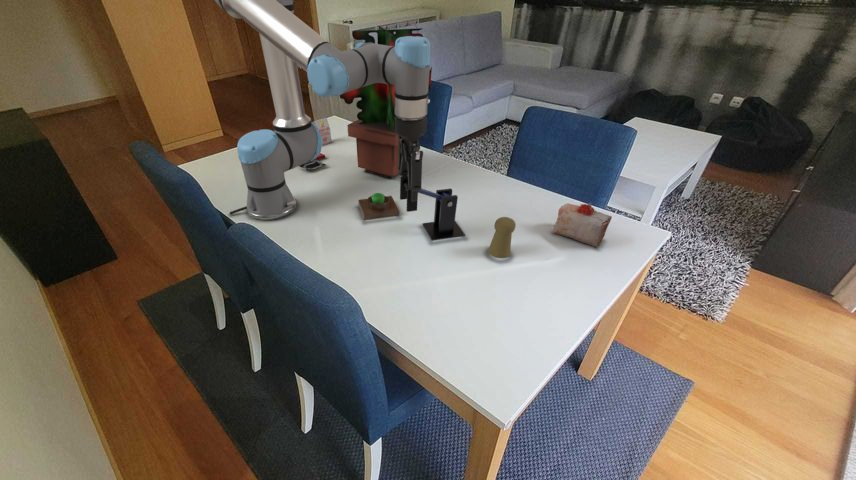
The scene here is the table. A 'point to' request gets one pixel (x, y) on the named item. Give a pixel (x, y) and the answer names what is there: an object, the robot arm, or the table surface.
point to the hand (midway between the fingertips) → (408, 204)
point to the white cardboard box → (324, 130)
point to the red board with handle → (313, 163)
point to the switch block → (378, 208)
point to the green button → (378, 198)
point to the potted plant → (377, 114)
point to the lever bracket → (444, 218)
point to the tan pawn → (502, 237)
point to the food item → (582, 223)
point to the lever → (428, 192)
